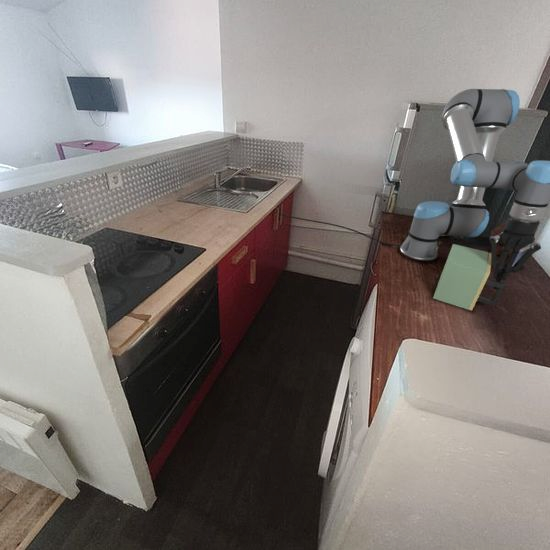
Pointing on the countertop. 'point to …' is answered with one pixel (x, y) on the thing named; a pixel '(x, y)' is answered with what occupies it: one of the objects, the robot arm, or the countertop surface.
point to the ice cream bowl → (500, 244)
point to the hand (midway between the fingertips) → (495, 287)
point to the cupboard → (461, 276)
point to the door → (491, 283)
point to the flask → (521, 253)
